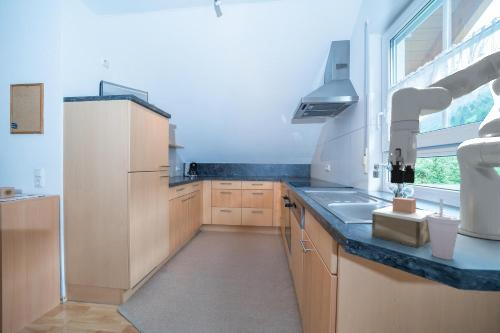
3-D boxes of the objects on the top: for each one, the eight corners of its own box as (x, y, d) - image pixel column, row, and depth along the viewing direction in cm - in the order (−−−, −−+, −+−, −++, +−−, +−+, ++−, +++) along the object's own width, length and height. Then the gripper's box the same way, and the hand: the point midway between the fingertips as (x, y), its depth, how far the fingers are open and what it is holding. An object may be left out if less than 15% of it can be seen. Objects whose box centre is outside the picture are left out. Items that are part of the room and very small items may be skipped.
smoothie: (445, 251, 55) (446, 197, 55) (468, 262, 49) (469, 201, 49) (419, 250, 56) (419, 196, 56) (438, 261, 49) (439, 200, 49)
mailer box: (391, 227, 77) (392, 208, 77) (435, 236, 67) (435, 214, 67) (372, 236, 67) (372, 213, 67) (419, 248, 57) (419, 222, 57)
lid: (391, 208, 77) (391, 194, 77) (436, 214, 67) (436, 199, 67) (371, 213, 67) (371, 198, 67) (420, 222, 57) (420, 204, 57)
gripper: (400, 133, 75) (399, 182, 75) (380, 126, 65) (378, 182, 65) (427, 131, 69) (425, 183, 69) (409, 122, 59) (407, 184, 59)
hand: (402, 183), depth 67 cm, fingers open, 9 cm apart
